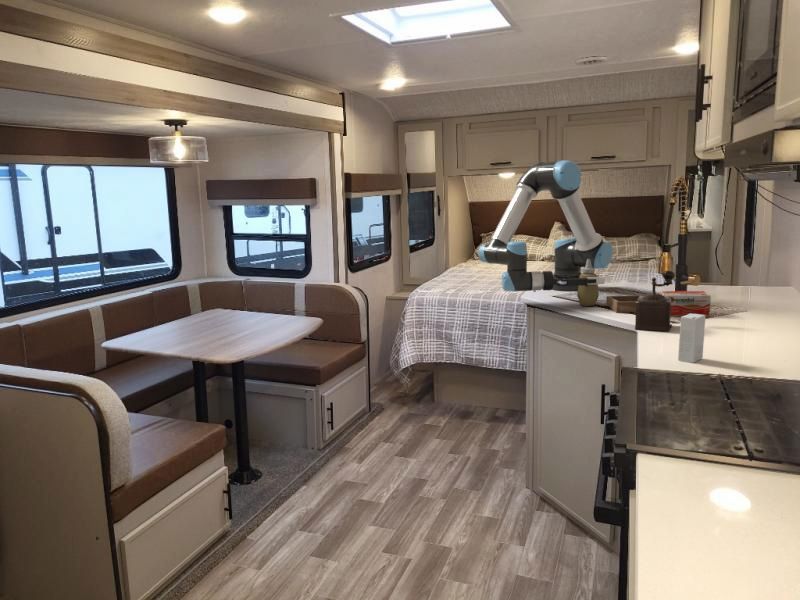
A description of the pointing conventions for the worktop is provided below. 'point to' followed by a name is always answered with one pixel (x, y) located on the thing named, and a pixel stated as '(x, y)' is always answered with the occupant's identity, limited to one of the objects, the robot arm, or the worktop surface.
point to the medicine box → (688, 302)
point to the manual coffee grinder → (655, 308)
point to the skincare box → (691, 338)
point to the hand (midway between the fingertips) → (601, 279)
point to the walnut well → (622, 303)
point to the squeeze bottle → (588, 287)
